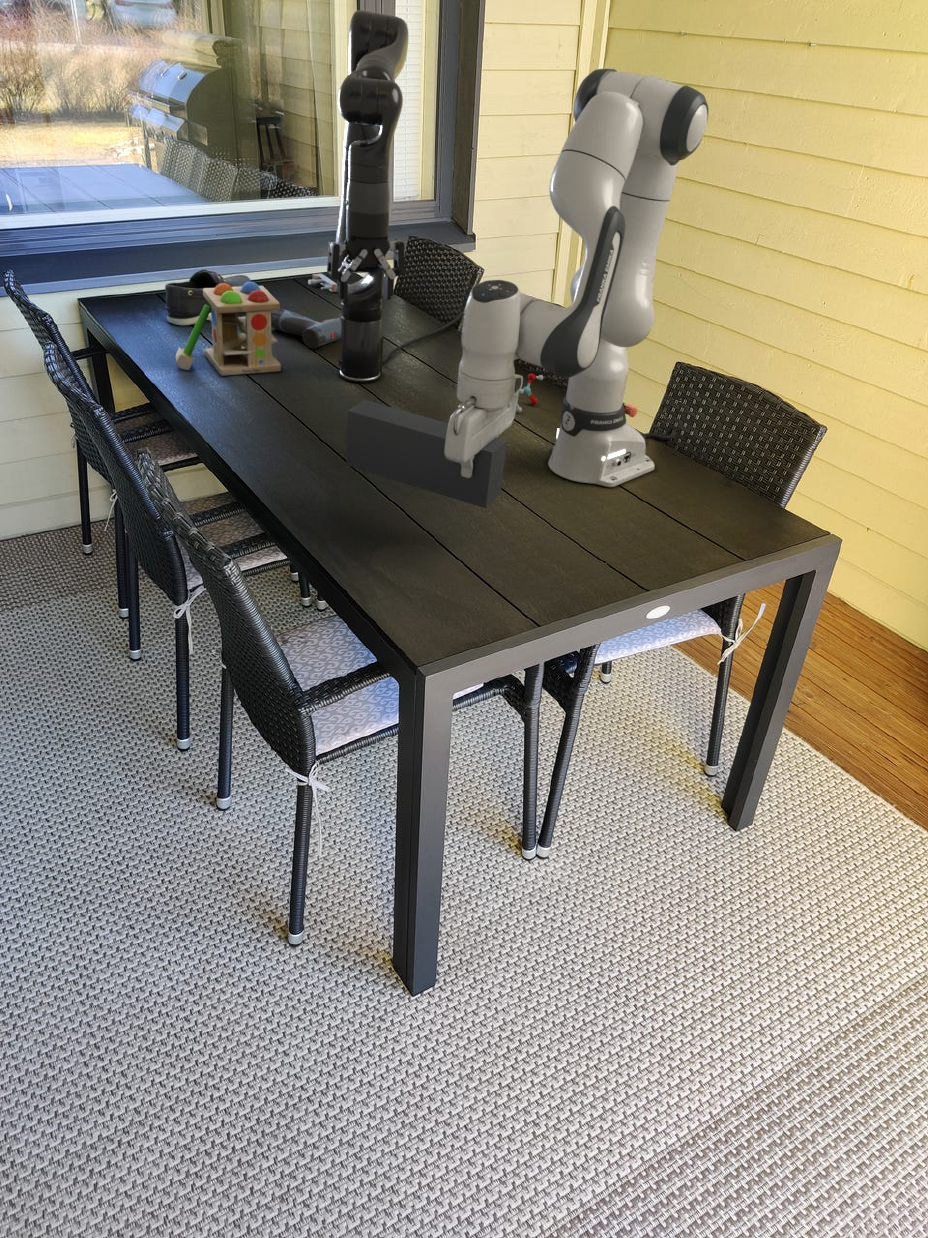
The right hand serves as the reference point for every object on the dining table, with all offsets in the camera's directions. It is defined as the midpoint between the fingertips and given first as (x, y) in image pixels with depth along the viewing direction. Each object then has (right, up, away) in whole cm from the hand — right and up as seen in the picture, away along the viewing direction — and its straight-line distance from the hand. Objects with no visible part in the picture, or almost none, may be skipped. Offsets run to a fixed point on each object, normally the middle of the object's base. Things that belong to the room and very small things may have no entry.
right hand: (477, 467), depth 163 cm
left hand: (-20, +34, +18) cm, 43 cm away
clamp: (-42, +72, +124) cm, 149 cm away
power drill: (-42, +48, +90) cm, 110 cm away
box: (-9, -1, +6) cm, 11 cm away
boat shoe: (-70, +58, +100) cm, 135 cm away
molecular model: (+9, +24, +61) cm, 67 cm away
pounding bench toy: (-58, +34, +67) cm, 95 cm away
